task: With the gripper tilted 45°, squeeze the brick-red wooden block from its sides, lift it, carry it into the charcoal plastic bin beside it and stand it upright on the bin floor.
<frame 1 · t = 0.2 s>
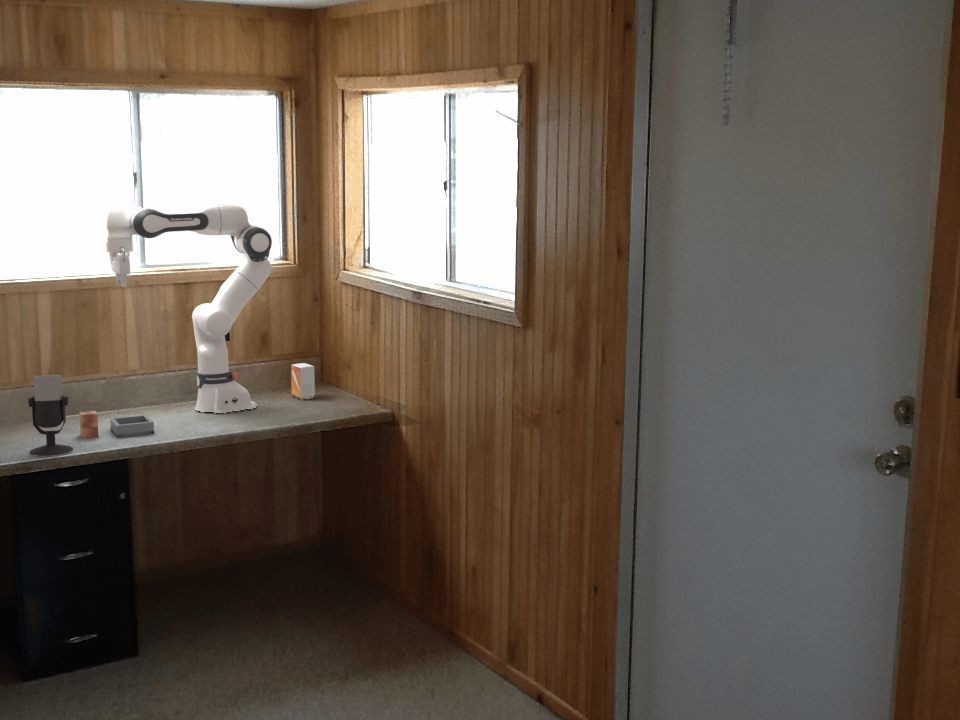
hand: (122, 286, 401), 48 cm above the worktop, tool pointing down, fingers open, 8 cm apart
microphone: (51, 452, 363), on the worktop
small box: (303, 398, 445), on the worktop
bin: (132, 431, 389), on the worktop
red block: (89, 436, 383), on the worktop
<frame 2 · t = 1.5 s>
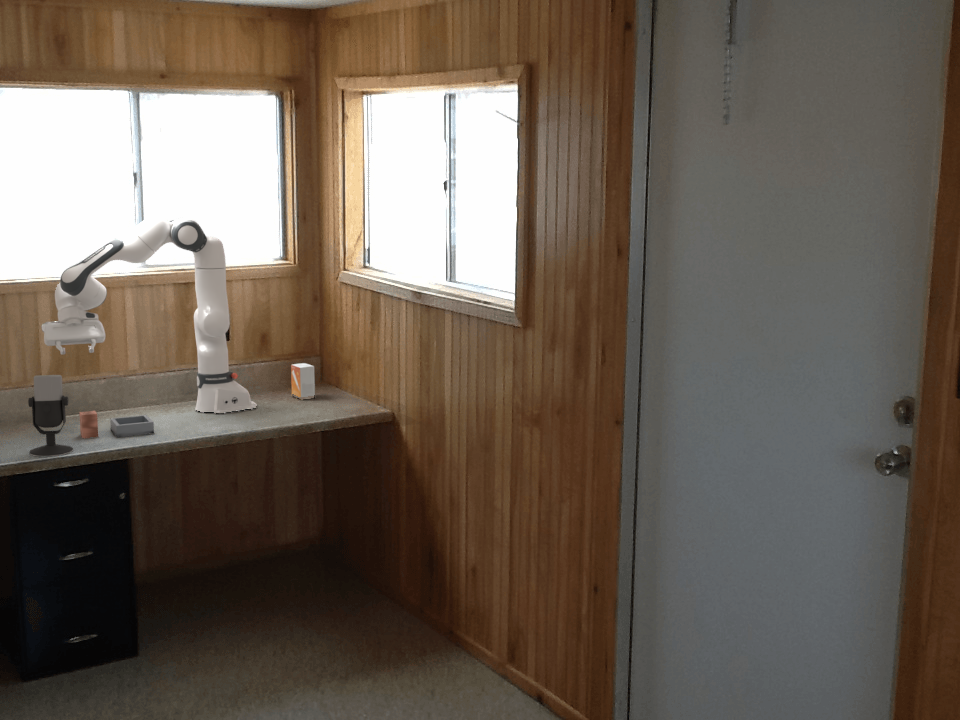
hand: (77, 352, 394), 26 cm above the worktop, tool tilted 45°, fingers open, 8 cm apart
nothing on the worktop moved.
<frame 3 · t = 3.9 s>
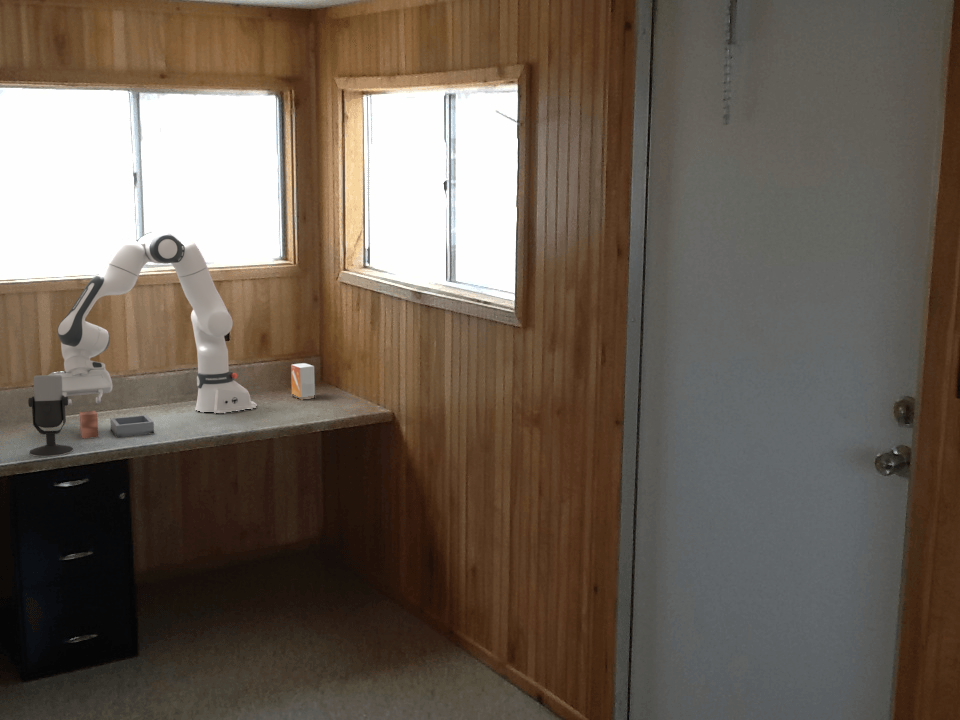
hand: (84, 403, 387), 10 cm above the worktop, tool tilted 45°, fingers open, 8 cm apart
nothing on the worktop moved.
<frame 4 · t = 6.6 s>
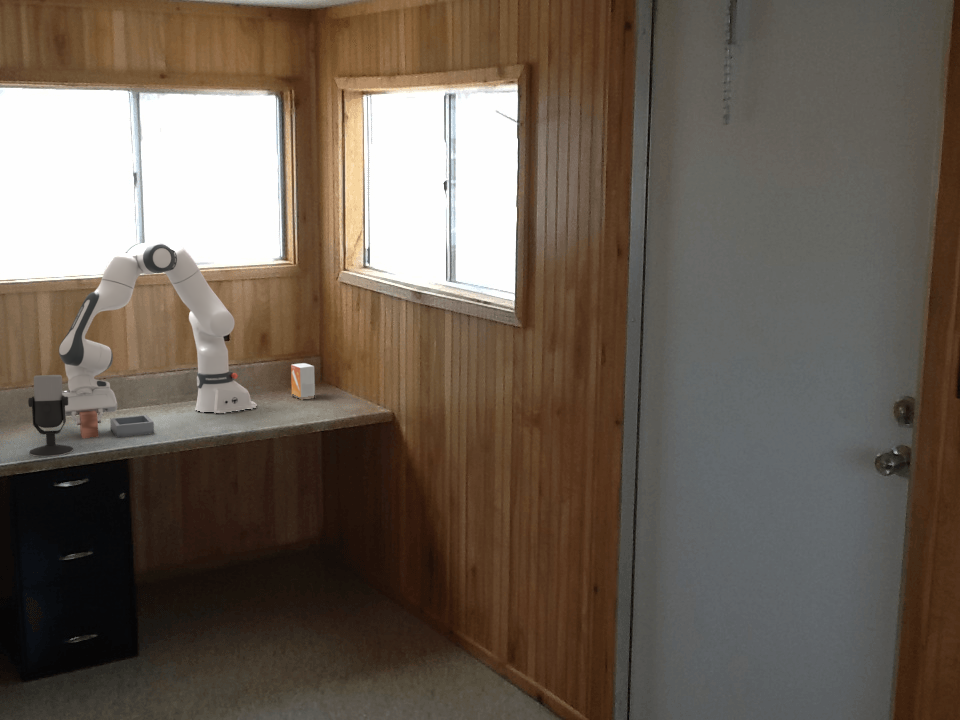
hand: (88, 423, 382), 4 cm above the worktop, tool tilted 45°, fingers closed on red block, 5 cm apart
red block: (89, 436, 383), on the worktop, touching gripper
everything else where it was.
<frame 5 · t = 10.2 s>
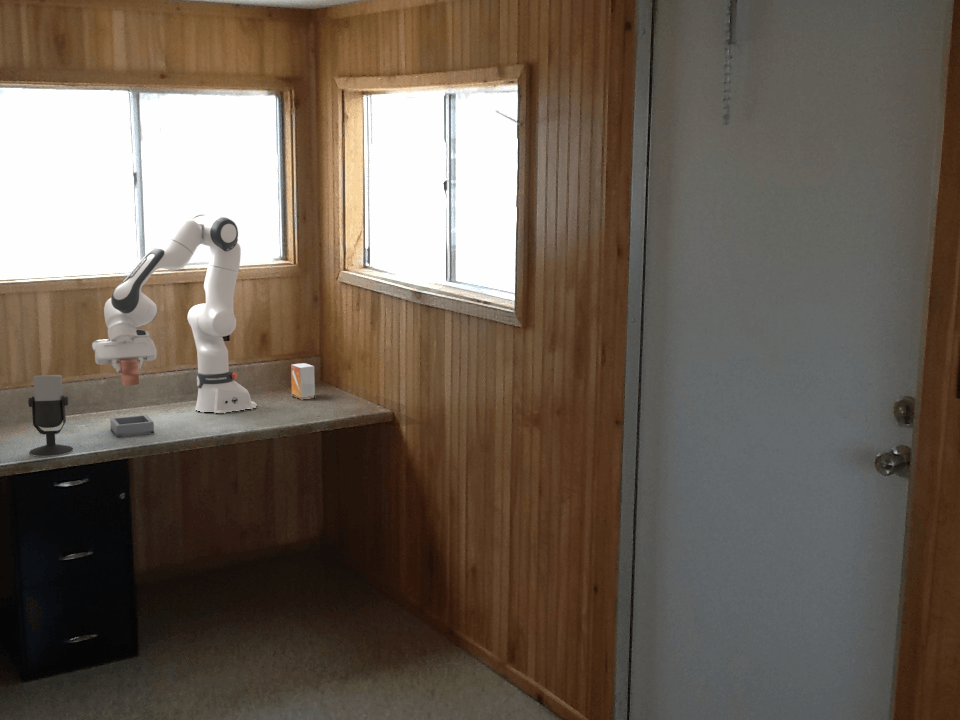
hand: (129, 371, 386), 21 cm above the worktop, tool tilted 45°, fingers closed on red block, 5 cm apart
red block: (130, 383, 387), point 17 cm above the worktop, touching gripper
everything else where it was.
when the fingers open (7 cm above the worktop, at t = 13.8 s): red block drops 1 cm, resting on bin.
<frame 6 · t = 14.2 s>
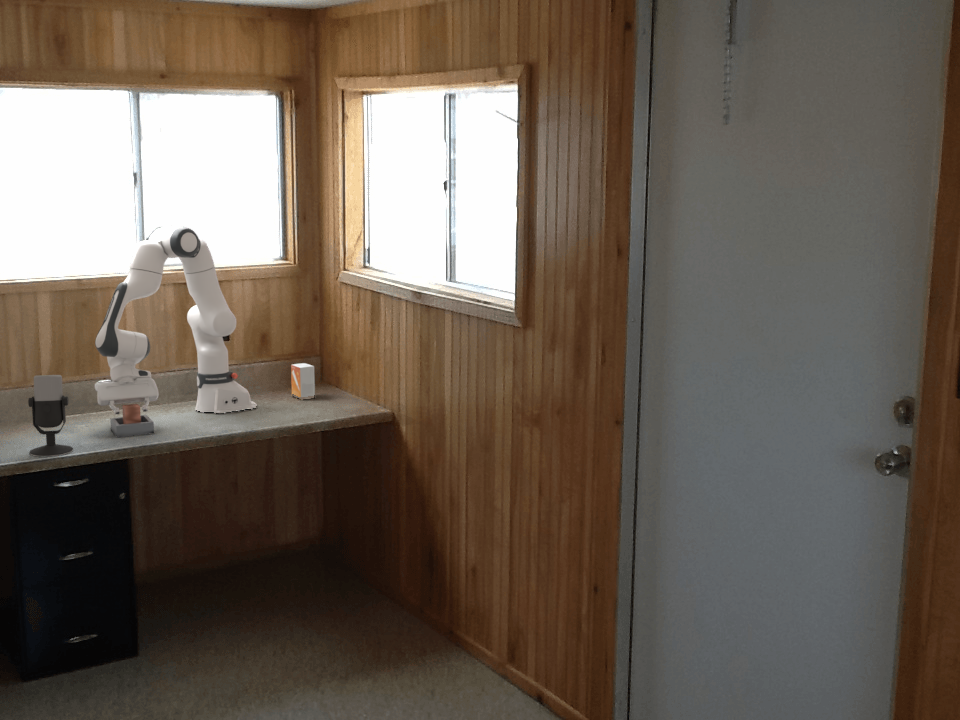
hand: (131, 412, 388), 7 cm above the worktop, tool tilted 45°, fingers open, 8 cm apart
red block: (132, 428, 389), point 1 cm above the worktop, touching bin
everything else where it was.
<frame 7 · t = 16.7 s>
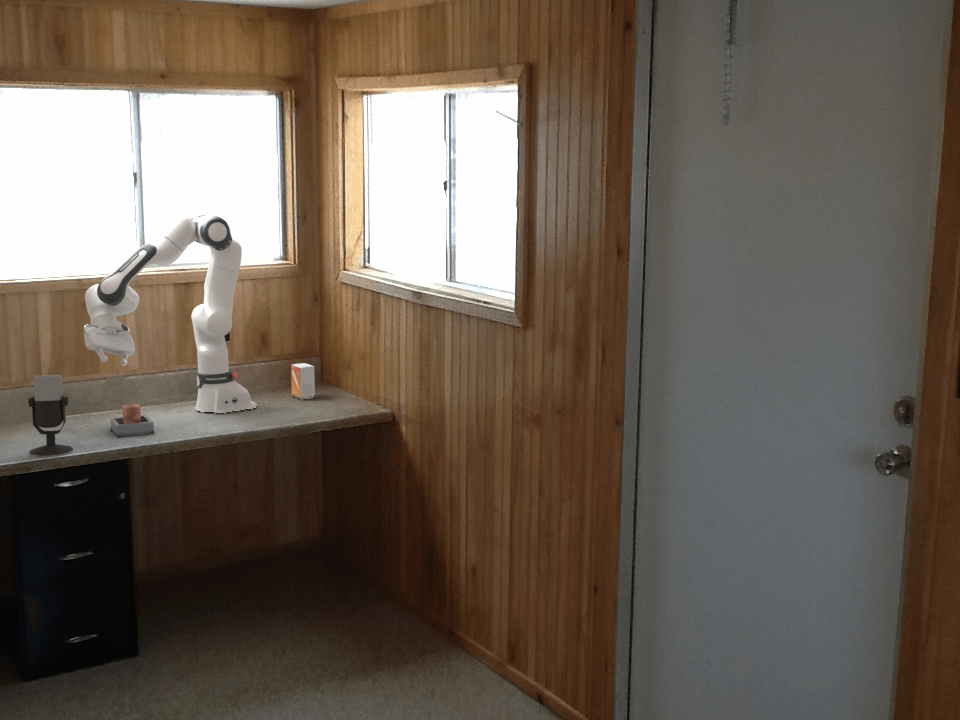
hand: (114, 363, 395), 22 cm above the worktop, tool tilted 35°, fingers open, 8 cm apart
nothing on the worktop moved.
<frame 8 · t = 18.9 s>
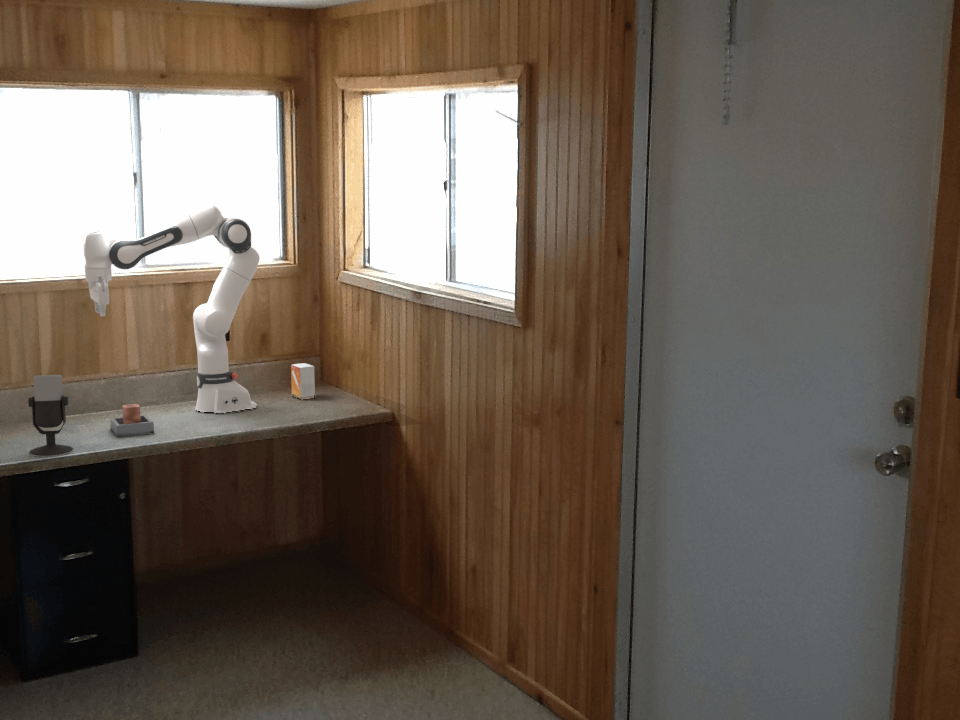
hand: (100, 314, 406), 37 cm above the worktop, tool pointing down, fingers open, 8 cm apart
nothing on the worktop moved.
at the end: red block 0.0 cm off-centre on the bin, point 1.0 cm above the bin's base; red block tilted 0°; the gripper is holding nothing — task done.
